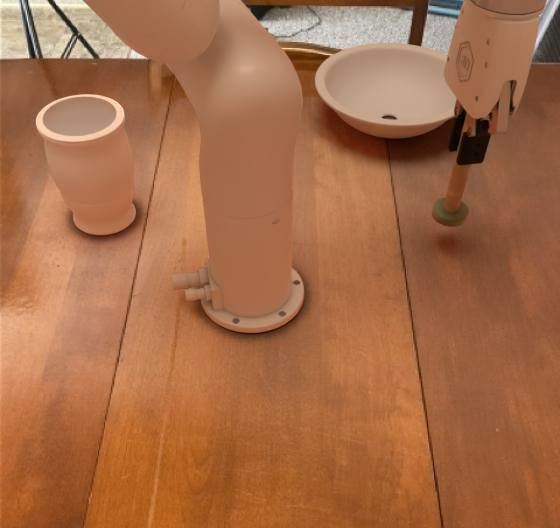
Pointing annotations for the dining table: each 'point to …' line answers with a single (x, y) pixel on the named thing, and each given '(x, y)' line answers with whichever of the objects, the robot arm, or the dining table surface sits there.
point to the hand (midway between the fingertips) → (464, 155)
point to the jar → (90, 160)
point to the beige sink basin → (387, 88)
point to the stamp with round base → (454, 193)
